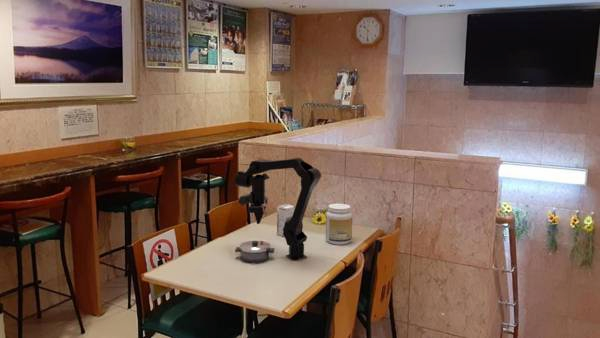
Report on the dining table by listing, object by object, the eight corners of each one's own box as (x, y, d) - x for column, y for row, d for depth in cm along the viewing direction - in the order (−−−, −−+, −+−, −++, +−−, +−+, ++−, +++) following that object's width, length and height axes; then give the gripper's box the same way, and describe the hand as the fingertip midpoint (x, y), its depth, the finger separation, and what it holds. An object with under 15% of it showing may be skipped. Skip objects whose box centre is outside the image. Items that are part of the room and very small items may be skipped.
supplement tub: (356, 243, 230) (357, 207, 227) (333, 246, 225) (334, 210, 222) (342, 235, 241) (343, 201, 238) (320, 239, 236) (321, 204, 233)
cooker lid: (242, 242, 215) (242, 236, 214) (271, 243, 214) (271, 237, 214) (237, 252, 202) (237, 246, 202) (268, 253, 202) (268, 247, 201)
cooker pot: (277, 259, 208) (277, 248, 207) (248, 266, 200) (248, 255, 199) (261, 250, 218) (261, 240, 217) (232, 257, 210) (232, 246, 209)
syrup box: (284, 232, 245) (284, 203, 243) (293, 234, 241) (294, 205, 239) (276, 235, 241) (276, 205, 238) (286, 237, 237) (286, 208, 235)
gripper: (243, 183, 224) (243, 217, 227) (235, 193, 206) (236, 229, 208) (267, 184, 223) (267, 218, 226) (262, 193, 205) (262, 230, 208)
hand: (258, 223), depth 217 cm, fingers closed
